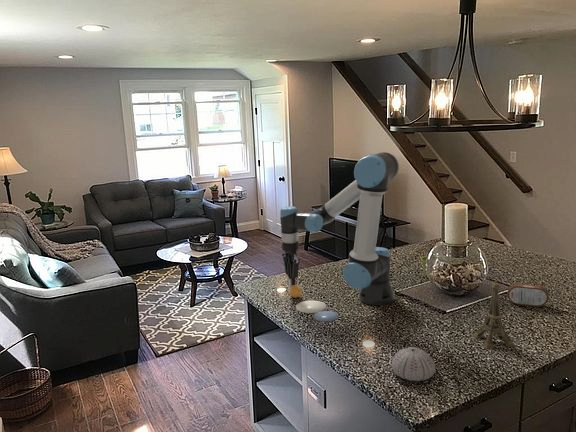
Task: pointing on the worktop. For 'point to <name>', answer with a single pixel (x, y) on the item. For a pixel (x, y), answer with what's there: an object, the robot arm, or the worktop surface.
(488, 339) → the eiffel tower
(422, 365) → the sea urchin shell
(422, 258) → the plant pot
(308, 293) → the worktop surface
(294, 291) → the ball
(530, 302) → the tin
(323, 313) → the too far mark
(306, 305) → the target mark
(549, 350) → the worktop surface
